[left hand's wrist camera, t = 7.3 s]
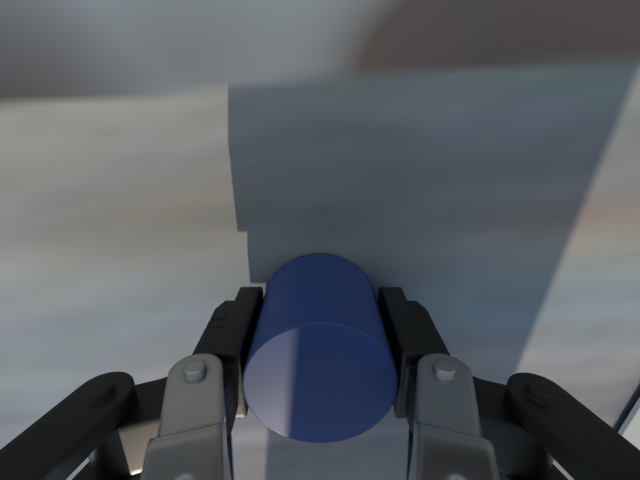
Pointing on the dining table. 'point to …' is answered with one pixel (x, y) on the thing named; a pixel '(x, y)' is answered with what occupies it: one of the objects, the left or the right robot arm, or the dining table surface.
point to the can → (320, 353)
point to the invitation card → (632, 426)
